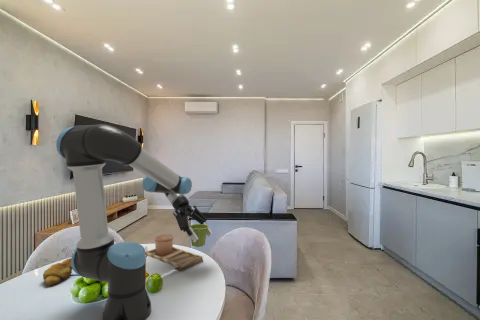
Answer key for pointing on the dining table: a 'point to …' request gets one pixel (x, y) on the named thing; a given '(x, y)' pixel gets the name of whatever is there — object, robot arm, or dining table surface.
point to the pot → (164, 244)
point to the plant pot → (199, 234)
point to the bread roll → (57, 272)
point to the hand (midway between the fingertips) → (203, 237)
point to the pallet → (178, 258)
